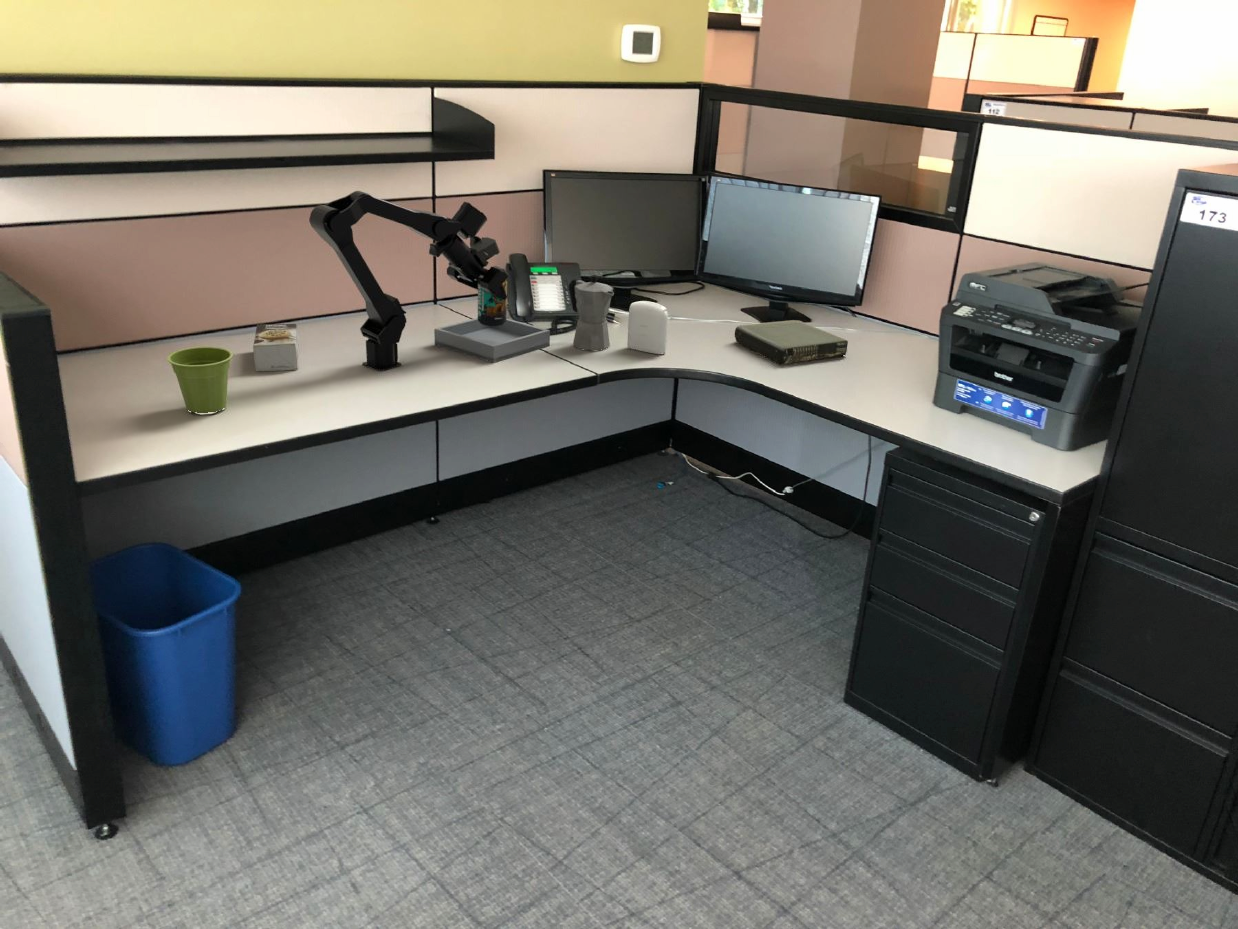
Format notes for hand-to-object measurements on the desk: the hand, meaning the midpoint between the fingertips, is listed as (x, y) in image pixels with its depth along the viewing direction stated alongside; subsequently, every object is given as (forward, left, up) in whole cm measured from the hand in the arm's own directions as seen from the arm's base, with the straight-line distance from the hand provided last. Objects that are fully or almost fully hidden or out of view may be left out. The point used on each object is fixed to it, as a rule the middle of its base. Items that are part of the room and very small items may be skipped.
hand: (496, 295), depth 247 cm
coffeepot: (+17, -16, -13) cm, 26 cm away
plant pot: (-74, +8, -13) cm, 76 cm away
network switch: (+52, -54, -13) cm, 76 cm away
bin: (-1, 0, -12) cm, 12 cm away
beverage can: (-1, 0, -7) cm, 7 cm away
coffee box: (-50, +19, -9) cm, 54 cm away
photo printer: (+24, -29, -13) cm, 39 cm away
